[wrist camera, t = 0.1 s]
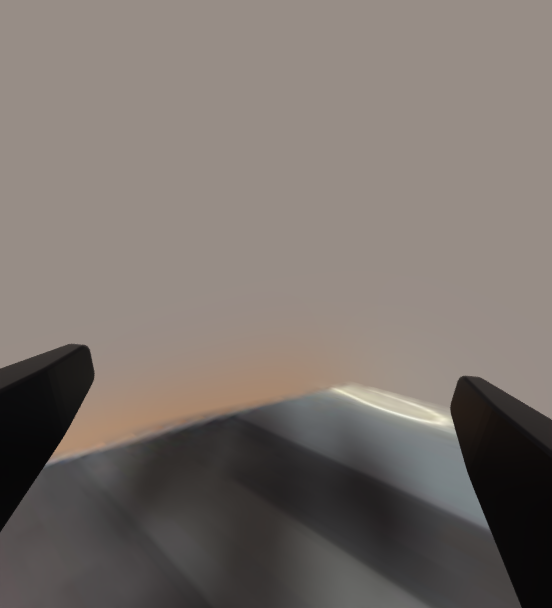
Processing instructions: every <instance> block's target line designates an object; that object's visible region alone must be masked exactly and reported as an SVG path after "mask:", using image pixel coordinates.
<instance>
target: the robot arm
mask: <svg viewBox="0 0 552 608" xmlns="http://www.w3.org/2000/svg"><path fill="white" fill-rule="evenodd" d="M93 380H94V368H93V363H92V358H91V353H90V349H89V348H88V346H86V345H79V344H68V345H65V346H63V347H59V348H57V349H54V350H51V351H48V352H46V353H43V354H40V355H37V356H34V357H32V358H29V359H26V360H23V361H20V362H18V363H15V364H12V365H9V366H6V367H4V368H1V369H0V532H1V530H2V529H3V527H4V526H5V524H6V523H7V521H8V520H9V518H10V517H11V515H12V514H13V512H14V511H15V509H16V508H17V506H18V505H19V503H20V502H21V500H22V499H23V497H24V496H25V494H26V493H27V491H28V490H29V488H30V487H31V485H32V484H33V482H34V481H35V479H36V478H37V476H38V475H39V473H40V472H41V470H42V469H43V467H44V466H45V464H46V463H47V461H48V460H49V458H50V457H51V455H52V454H53V452H54V451H55V449H56V448H57V446H58V445H59V443H60V442H61V440H62V439H63V437H64V435H65V433H66V432H67V430H68V428H69V427H70V425H71V423H72V421H73V419H74V417H75V415H76V413H77V412H78V409H79V408H80V406H81V404H82V402H83V400H84V398H85V396H86V394H87V393H88V391H89V389H90V387H91V385H92V383H93ZM450 410H451V416H452V419H453V423H454V426H455V430H456V434H457V437H458V441H459V444H460V448H461V451H462V455H463V458H464V462H465V465H466V469H467V472H468V475H469V477H470V480H471V483H472V485H473V488H474V490H475V493H476V495H477V498H478V500H479V503H480V505H481V508H482V510H483V513H484V515H485V518H486V520H487V523H488V525H489V528H490V530H491V533H492V535H493V538H494V540H495V543H496V545H497V548H498V550H499V552H500V555H501V557H502V560H503V562H504V565H505V567H506V570H507V572H508V575H509V577H510V580H511V582H512V585H513V587H514V590H515V592H516V595H517V597H518V600H519V602H520V605H521V607H522V608H552V420H551V419H550V418H548V417H546V416H545V415H543V414H541V413H540V412H538V411H536V410H535V409H533V408H531V407H529V406H528V405H526V404H524V403H523V402H521V401H519V400H518V399H516V398H514V397H513V396H511V395H509V394H507V393H506V392H504V391H503V390H501V389H499V388H497V387H496V386H494V385H492V384H490V383H489V382H487V381H486V380H484V379H482V378H480V377H473V376H462V377H460V378H459V380H458V382H457V386H456V388H455V392H454V395H453V398H452V401H451V407H450Z"/></svg>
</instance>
